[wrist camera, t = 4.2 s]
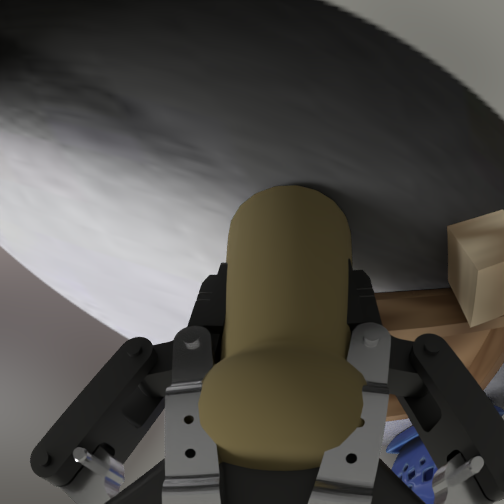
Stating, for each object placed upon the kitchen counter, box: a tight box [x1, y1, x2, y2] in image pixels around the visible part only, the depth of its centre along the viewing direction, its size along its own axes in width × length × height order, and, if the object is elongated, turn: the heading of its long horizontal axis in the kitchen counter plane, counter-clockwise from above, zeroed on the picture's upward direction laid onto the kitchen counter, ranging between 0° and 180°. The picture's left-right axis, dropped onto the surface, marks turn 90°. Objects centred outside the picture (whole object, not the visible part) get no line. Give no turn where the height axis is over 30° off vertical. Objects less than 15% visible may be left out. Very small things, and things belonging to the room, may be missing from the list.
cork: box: [192, 185, 367, 471], centre depth 11 cm, size 6×6×11 cm
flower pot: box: [386, 405, 504, 504], centre depth 22 cm, size 13×13×12 cm
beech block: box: [447, 210, 504, 328], centre depth 13 cm, size 4×4×4 cm
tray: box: [374, 288, 504, 421], centre depth 18 cm, size 12×12×3 cm
